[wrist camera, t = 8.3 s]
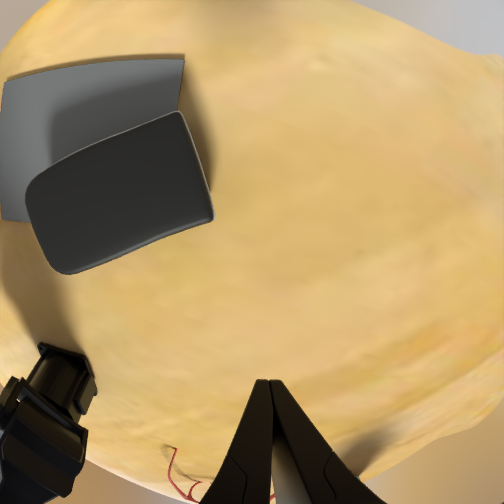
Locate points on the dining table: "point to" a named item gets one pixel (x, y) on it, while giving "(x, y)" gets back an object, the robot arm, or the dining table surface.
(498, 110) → the dining table surface
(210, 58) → the dining table surface
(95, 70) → the mat
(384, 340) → the dining table surface
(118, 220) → the battery charger
